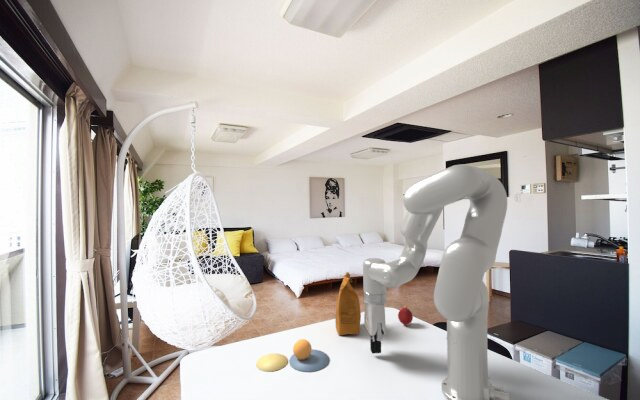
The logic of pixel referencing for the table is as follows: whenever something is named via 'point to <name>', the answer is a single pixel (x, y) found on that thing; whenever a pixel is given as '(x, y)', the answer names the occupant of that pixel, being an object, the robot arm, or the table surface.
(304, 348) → the ball
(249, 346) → the table surface
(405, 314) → the onion
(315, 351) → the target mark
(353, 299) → the coffee package
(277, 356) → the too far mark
